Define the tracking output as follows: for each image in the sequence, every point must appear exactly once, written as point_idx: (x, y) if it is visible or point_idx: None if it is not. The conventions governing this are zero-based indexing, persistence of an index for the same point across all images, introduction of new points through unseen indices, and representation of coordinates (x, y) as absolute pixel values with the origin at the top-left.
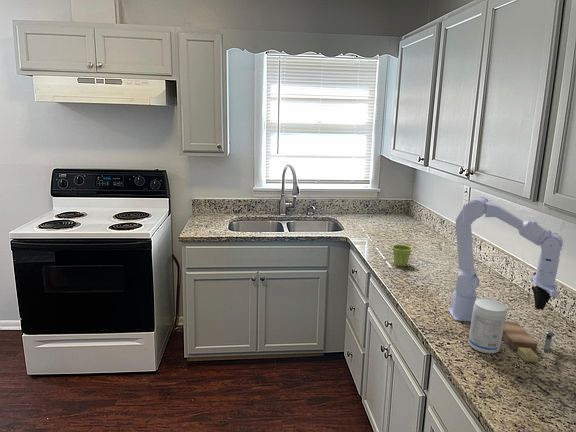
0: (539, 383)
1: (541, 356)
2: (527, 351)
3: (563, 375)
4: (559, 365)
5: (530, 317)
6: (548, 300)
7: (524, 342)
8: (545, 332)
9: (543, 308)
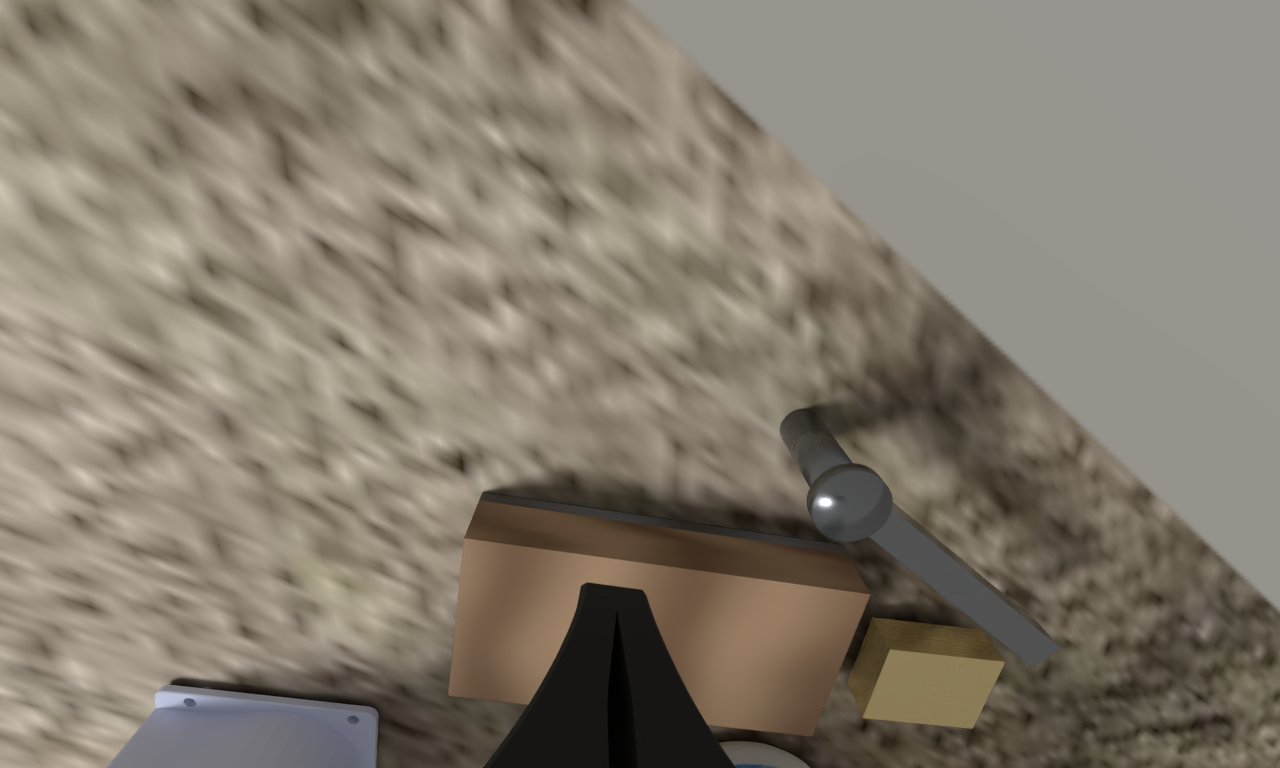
0: (1140, 712)
1: None
2: (925, 690)
3: (1133, 543)
4: (1030, 490)
5: (134, 157)
6: (706, 726)
7: (835, 674)
8: (825, 533)
9: (650, 610)
